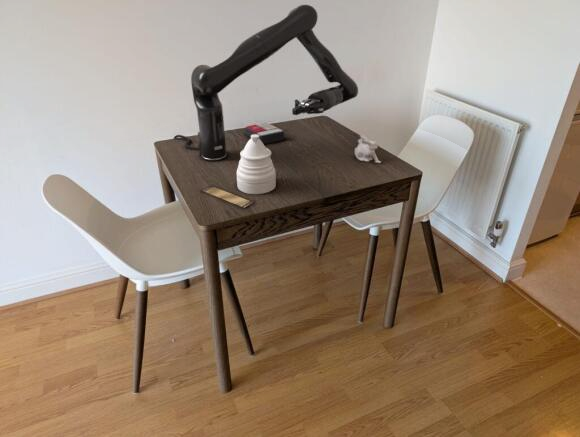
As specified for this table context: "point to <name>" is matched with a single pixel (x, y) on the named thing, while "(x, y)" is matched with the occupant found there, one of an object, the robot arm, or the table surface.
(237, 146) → the table surface
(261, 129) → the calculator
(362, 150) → the white lumpy figure
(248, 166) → the honey pot
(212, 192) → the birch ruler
